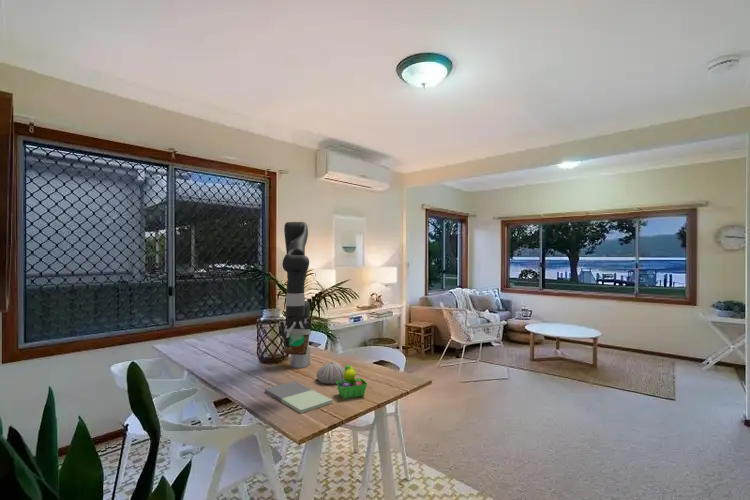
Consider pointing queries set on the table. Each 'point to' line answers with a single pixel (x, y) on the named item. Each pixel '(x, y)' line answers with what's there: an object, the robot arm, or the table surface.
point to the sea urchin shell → (330, 373)
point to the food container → (298, 341)
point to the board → (298, 396)
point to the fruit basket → (351, 384)
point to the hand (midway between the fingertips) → (294, 345)
